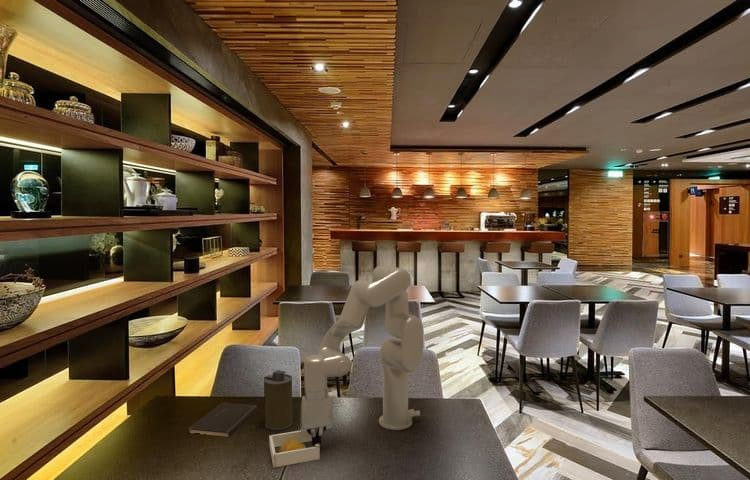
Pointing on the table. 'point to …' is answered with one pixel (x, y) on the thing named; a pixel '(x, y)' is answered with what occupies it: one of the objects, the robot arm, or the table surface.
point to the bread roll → (292, 445)
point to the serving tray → (293, 455)
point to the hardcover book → (224, 419)
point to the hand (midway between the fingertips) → (316, 446)
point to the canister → (278, 400)
